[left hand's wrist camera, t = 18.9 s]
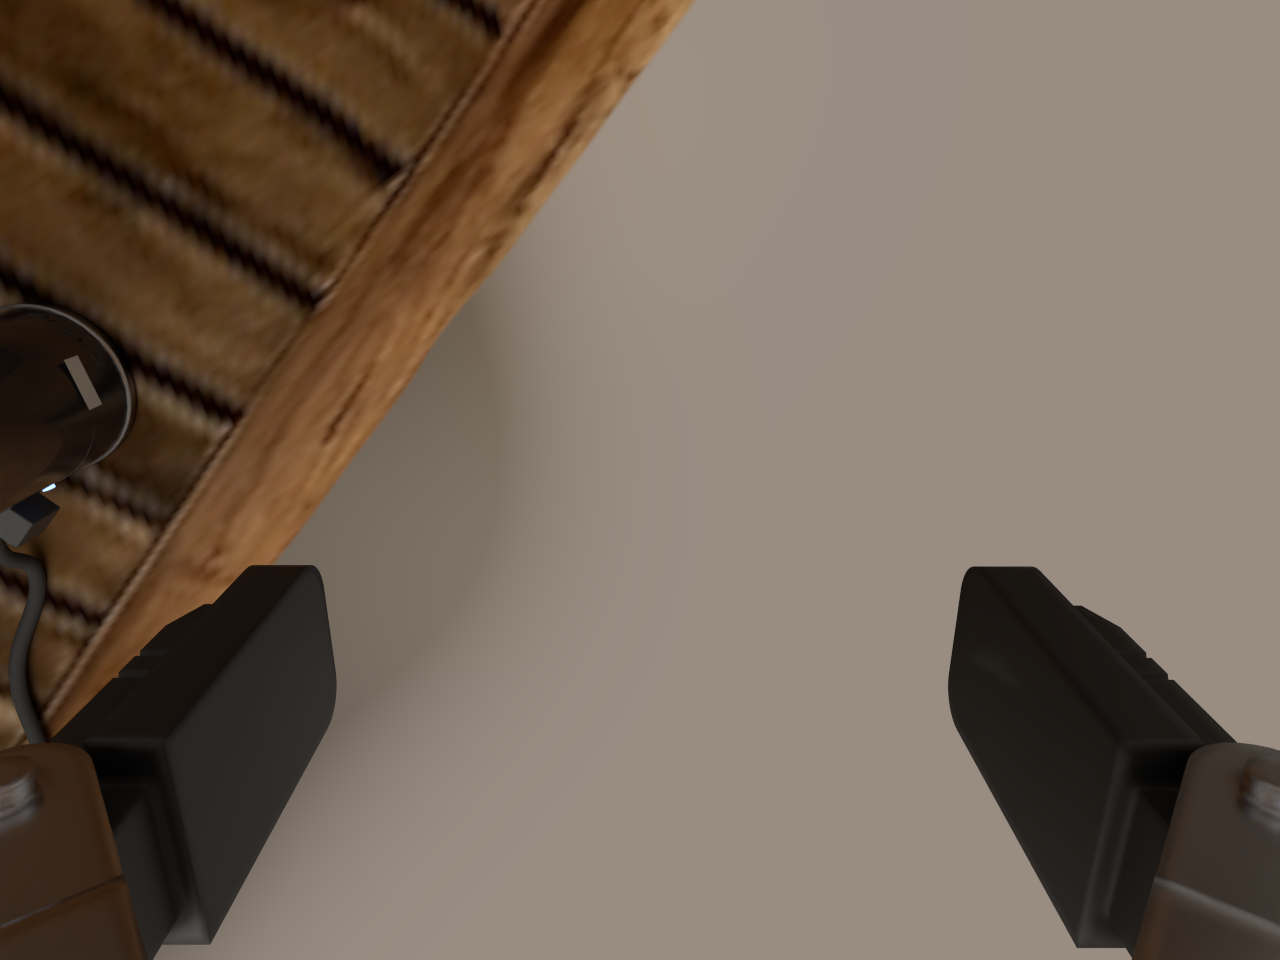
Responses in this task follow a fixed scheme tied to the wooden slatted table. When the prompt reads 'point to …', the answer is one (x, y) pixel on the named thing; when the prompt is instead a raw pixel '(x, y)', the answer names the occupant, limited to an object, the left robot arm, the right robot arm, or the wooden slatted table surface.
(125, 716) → the left robot arm
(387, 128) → the wooden slatted table surface
